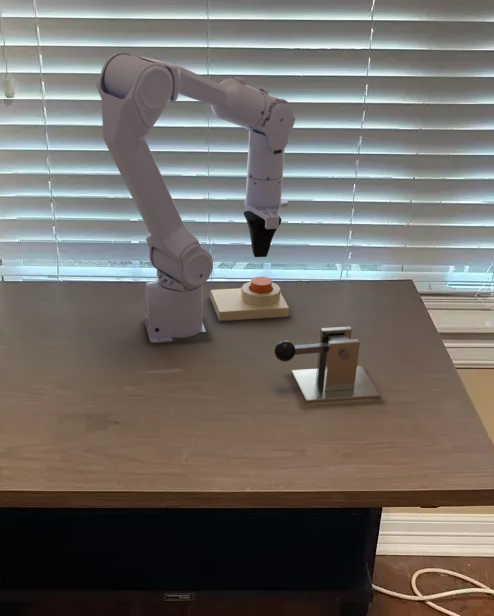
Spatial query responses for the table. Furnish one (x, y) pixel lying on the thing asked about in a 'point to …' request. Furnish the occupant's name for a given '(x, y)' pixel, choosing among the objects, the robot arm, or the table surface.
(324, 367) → the bracket
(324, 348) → the lever
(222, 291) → the control block
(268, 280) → the button
